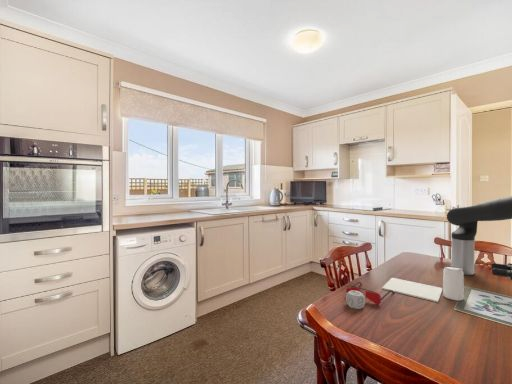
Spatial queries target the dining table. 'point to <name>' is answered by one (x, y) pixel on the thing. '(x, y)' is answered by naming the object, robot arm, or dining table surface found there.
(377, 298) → the glasses
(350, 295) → the die
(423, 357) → the dining table surface
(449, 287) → the can
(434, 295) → the mat
